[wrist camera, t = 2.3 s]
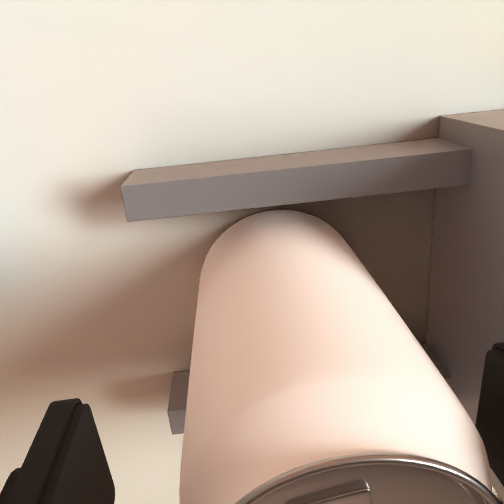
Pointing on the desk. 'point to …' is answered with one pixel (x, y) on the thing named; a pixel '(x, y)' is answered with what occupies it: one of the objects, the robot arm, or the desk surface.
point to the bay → (366, 184)
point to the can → (315, 382)
